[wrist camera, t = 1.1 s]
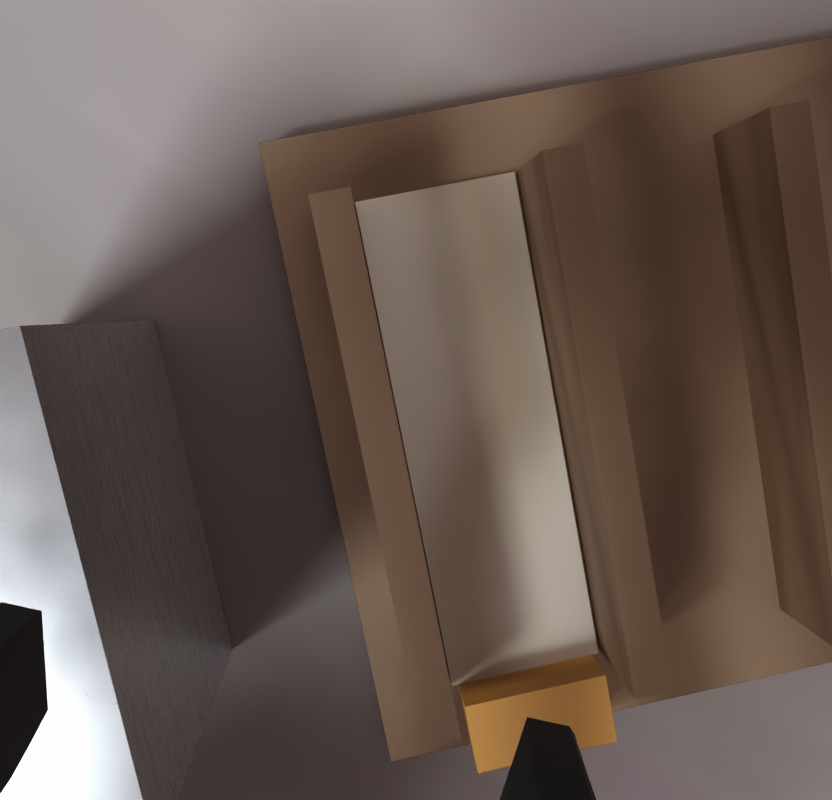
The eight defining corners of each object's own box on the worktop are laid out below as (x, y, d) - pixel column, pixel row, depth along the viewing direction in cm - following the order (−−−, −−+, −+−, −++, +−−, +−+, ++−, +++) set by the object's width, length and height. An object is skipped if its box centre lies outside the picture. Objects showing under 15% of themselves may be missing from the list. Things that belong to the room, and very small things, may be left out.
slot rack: (389, 742, 24) (396, 828, 20) (263, 150, 22) (242, 115, 18) (1001, 605, 25) (1122, 660, 21) (941, 24, 23) (1063, -36, 19)
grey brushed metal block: (133, 670, 23) (-6, 893, 14) (48, 340, 22) (-160, 360, 13) (232, 648, 23) (156, 855, 15) (154, 320, 22) (20, 325, 13)
